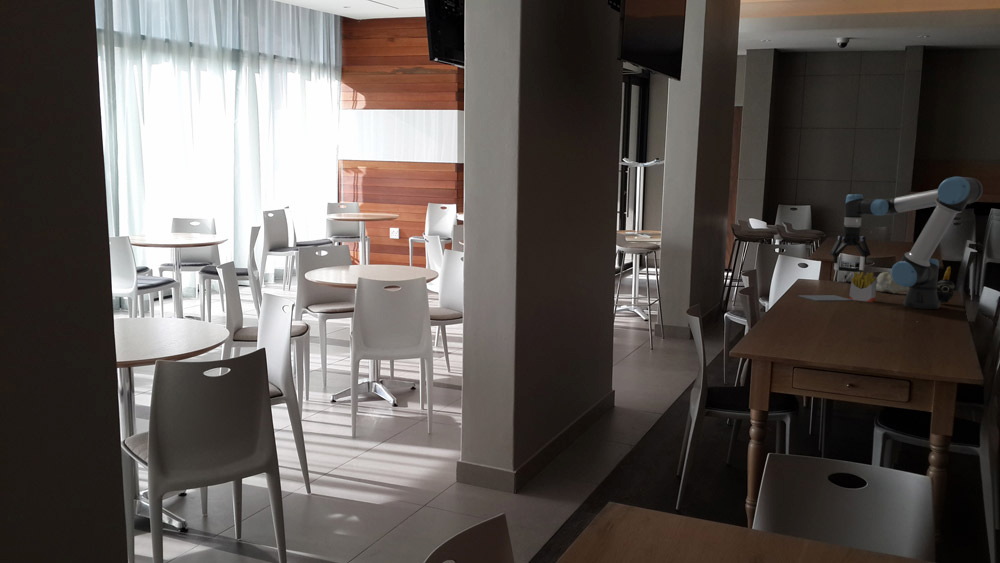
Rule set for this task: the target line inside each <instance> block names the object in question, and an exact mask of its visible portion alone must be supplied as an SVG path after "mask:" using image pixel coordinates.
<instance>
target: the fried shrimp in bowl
mask: <svg viewBox="0 0 1000 563" xmlns="http://www.w3.org/2000/svg"><path fill="white" fill-rule="evenodd" d="M951 269H952V268H951V266H947V267H946V270H945V272H944V275H943V278H942V279H941V280H939V281H937V295H938V299H939V303H941V304H942V303H943V304H946V303H949V301H950V300H951V299H952V298H953V296H954V293H956V292H955V288H956V287H955V286H956V285H955V284H954V282H953V281H951V280H950V276H951V272H952V271H951Z"/></svg>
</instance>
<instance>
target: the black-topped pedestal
mask: <svg viewBox="0 0 1000 563" xmlns="http://www.w3.org/2000/svg"><path fill="white" fill-rule="evenodd" d="M859 267H860V261H859V262H857V263H854V266H852V263H851V261H848V262H847V263H845V261H842V260H839V270H837V279H836V280H837V281H836V282H841V283H846V282H850V283H851V281H852V278H854V272H858V274H861V272H863V273H864V272H865V269H864V270H859ZM857 276H858V275H857Z"/></svg>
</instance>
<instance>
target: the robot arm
mask: <svg viewBox="0 0 1000 563" xmlns="http://www.w3.org/2000/svg"><path fill="white" fill-rule="evenodd" d="M983 190H984V189H983V185H982V183H981V181H979V180H978V179H976V178H974V177H972V176H971V177H969V176H967V177H965V176H952V177H951V176H950V177H947V178H945V179H944V180H943V181H942V182H941V183H940V184H939V186H938V188H935V189H932V190H927V191H926V190H925V191H920V192H916V193H911V194H905V195H902V196H897V197H891V198H864V196H863V194H857V193H855V194H851V193H850V194H847V195H846V197H845V203H844V205H845V208H844V219H843V220H844V222H843V230H842V231H843V233H842V234H843V235H842V236H841V235H838V236H837V237H836V241H835V243H834V245H833V246H832V249H831V251H830V252H829V255H830V256H832V257H833V259H832V260H833V261H832V263H833V264H834V266H833V270H834V271H838V270H839V266H840V259H841V258H840V256H839V255H840V254H842V252H843V251H844V249H845V248H846V247H849V246H852V247H853V246H854V247H855V248H856V249H857V251H858V252H859V253H860V257H859V262H860V267H859V270H864V271H865V265H866V263H867V257H869V256H871V251H870V249H869V246H868V244H867V240H866V236H860V235H861V226H862V216H863V215H864V216H865V215H866V216H878V217H880V216H886V215H887V216H893V215H896V214H901V213H905V212H910V211H911V212H912V211H914V210H921V209H926V208H931V207H932V208H933V207H935V208H934V210H933V212H932V213H931V215H930V217H929V218H928V220H927V222H926V223H925V225H924V227H923V228H922V230H921V232H920V234H919V236H918V237H917V239H916V241H915V243H914V244H913V246H912V248H911V250H910V251H907V252H904V254H903V256H902V258H901V260H900V261H897V262H896V263H894V264H893V265H892V268H891V270H890V274H891V276H892V279H893V280H894V282H895V283H896V284H898V285H900V286H903V287H909V290H908V292H906V296H905V298H904V300H903V306H904V307H908V308H914V309H922V310H923V309H924V310H937V309H940V306H941V304H940V303H941V302H939V299H938V295H937V283H938V282H939V281H938V280H939V279H938V278H939V270H940V261H939V260H938V259H936V258H931V257H932V256H933V254H934V253H935V251H936V249H937V248H938V247H939V244H940V242H941V241H942V240H943V237H944V235H945V234H946V233H947V230H948V229H949V227H950V226H951V224H952V222H953V221H954V219H955V217H956V216H957V214H960V213H962V212H963V211H964V210H965V208H966V206H967V205H968V204H973V203H975V202H977V201H978V200H979V199H980V198H981V197H982V194H983ZM842 241H843V242H842ZM859 241H860V242H859Z"/></svg>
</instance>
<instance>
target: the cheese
mask: <svg viewBox="0 0 1000 563" xmlns="http://www.w3.org/2000/svg"><path fill="white" fill-rule="evenodd" d="M876 280H877V285H876V292H880V293H892V294H894V295H895V294H897V293H908V290H909V287H903V286H900V285H898V284H896V283H895V282H894V280H893V279H892V276H891V272H889V271H888V272H887V271H885V272H883V271H882V272H880V273H879V274H878V275H877V277H876Z"/></svg>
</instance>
